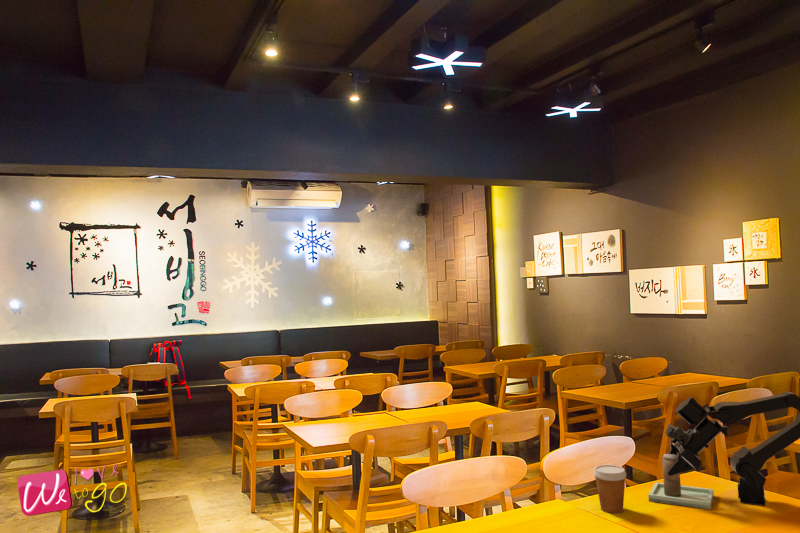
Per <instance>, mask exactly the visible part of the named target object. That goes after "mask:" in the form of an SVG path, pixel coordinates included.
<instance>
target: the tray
mask: <svg viewBox="0 0 800 533" xmlns="http://www.w3.org/2000/svg"><path fill="white" fill-rule="evenodd" d="M714 490H715V489H712V488H705V487H697V486H690V485H689V486H687V485H681V496H680V497H671V496H666V495H665V494H664V482H654V484H653V486H652V487H651V489H650V491H649V493H648V494H647V496H648V502H653V503H658V504H660V503H661V504H665V505H673V506H682V507H689V508H696V509H703V510H709V511H710V510H711V509H712V505H713V502H714V498H715V491H714Z"/></svg>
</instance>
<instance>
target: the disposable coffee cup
mask: <svg viewBox="0 0 800 533" xmlns="http://www.w3.org/2000/svg"><path fill="white" fill-rule="evenodd" d="M592 474H593V475H594V477H595V478H594V479H595V483H596V490H597V493H598V499H599V500H598V501H599V504H600V505H599V506H600V510H601V511H603V512H605V513H610V514H618V513H619V514H620V513H622V512H623V511H624V500H625V487H626V486H625V485H626V484H625V483H626V478H627V472H626V470H625V468H623V466H619V465H614V464H600V465H597V466H595V467H594V470H593V472H592Z"/></svg>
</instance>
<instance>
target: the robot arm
mask: <svg viewBox="0 0 800 533" xmlns="http://www.w3.org/2000/svg"><path fill="white" fill-rule="evenodd" d="M787 408H792V409H795V410H797V411H799V413H798V415H797V416H796V417H795V419H794V420H793V421H792V422H791V423H789V424H788V425H786V426H784V427H783V428H782V429H780V430H778V432H777V431H776V432H775V433H774V434H773V435H771V436H770V437H769V438H767V439H765V440H764V441H762V442H761V443H759V444H758V445H757V446H755V447H753V448H747V447H746V446H745V445H743V446H742V447H741V448H740V449H739V450H737V451H734V452H732V454H733V455H732V456H731V457H730V460H729V462H730V463H729V464H730V467H731V468H732V470H734V472H735V473H736V474H737V475H738V476H739V479H738V480H739V481H738V483H737V495H738V500H739V502H740V503H742V504H749V505H758V506H766V503H767V502H766V499H767V498H766V497H765V496H766V495H765V494H766V493H765V484H766V481H767V477H765V476H764V475H763V474H762V473H761V470H762V468H763V467H764V466H765V464H766V462H767V461H768V460H770V459H771V458H773V457H774V456H776V455H777V454H779V453H780V452H782V451H783V450H785V449H786V448H788V447H789V446H791V445H792V444H794V443H795V442H797V441H798V440H800V397H799V395H797V394H795V393H793V392H791V391H784V392H782V393H777V394H775V395H770V396H765V397H759V398H755V399H750V400H746V401H719V402H717V403H715V404H714V405H710V406H702V405H700V404H699V402H697V400H696V399H694V398H693V397H692V396H689V397H688V398H687V399H685V400H683V401H682V402H680V403H679V404H678V405H677V406H676V408H675V409H674V412H676V414H678V415H679V416H680V417H681V418H682V419H683V420H684V421H685V422H687V423H688V424H689V425H696V426H695V427H694V428H693V429H691V428H690V429H689V428H688V429H687V431H685V430H684V429H683V428H680V427H679V426H674V425H672V424H670V423H668V425H667V427H666V430H665V432H664V434H665V435H666V436H667V437H668V438H670V439H669V440H670V441H669V447H670V450H669V451H668V453H667V454H674V455H677V460H676V462H675V463H674V464H673V466H672V467H671V468H670V470H669V471H668V475H670V476H671V475H675V474H678V473H680V474H681V473H683V472H688V471H693V470H699V468H701V467H702V465H703V464H702V460H701V458H700V454H699V453H701V452H702V451H703V450H704V449H708V448H709V447H710V445H709V444H710V443H711V442H712V441H713V440H714V439H715V438H716V437H717V436H718V435H719V434H720V433H722V435H724V436H725V437H728V436H729V433H728V432H729V431H728V428H729V427H728V426H726V425H732V424H735V423H738V422H741V421H743V420H744V419H746V418H749V417H751V416H755V415H760V414H764V413H769V412H774V411H777V410H778V411H779V410H784V409H787ZM706 415H707V416H708V417H710V418H711V419H710V418H708V417H707V416H706ZM718 421H719V422H721V423H722V424H723V425H722V424H721V423H719V422H718Z"/></svg>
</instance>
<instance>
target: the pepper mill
mask: <svg viewBox="0 0 800 533" xmlns="http://www.w3.org/2000/svg"><path fill="white" fill-rule="evenodd" d="M676 460H677V455H674V454H668V453H665V454H663V456H662V476H663V477H662V478H663V483H664V494H665V495H666V496H671V497H680V496H681V473H678V474H675V475H671V476H670V475H668V471H669V470H670V468H671V467H672V466H673V464H674V463H675V462H676Z"/></svg>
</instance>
